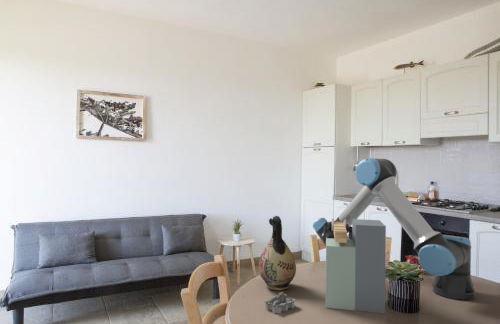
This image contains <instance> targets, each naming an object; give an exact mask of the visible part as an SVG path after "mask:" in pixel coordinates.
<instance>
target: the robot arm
mask: <svg viewBox="0 0 500 324" xmlns="http://www.w3.org/2000/svg"><path fill="white" fill-rule="evenodd" d="M397 172H398V171H397V167H396V165H395V163H393V162H392V161H391V160H390V159H386V158H374V157H368V158H363V159H362V160H361V161H359V162H358V164H357V165H356V167H355V173H354V174H355V175H354V176H355V178H356V181H357V182H358V183H359V184H361V185H362V186H363V187H362V188H361V190H360V191H358V193H357V194H356V195H355V196H354V198H353V199H352V200H351V201H350V203H349V204H348V205H347V206H346V207H345V208H344V210H343V211H342V212H341V213H340V214H339V215H338V217H337V218H336V219H335V218H331V221H328V220H327V219H326V218H325V217H320V218H318V219H316V220H315V221H314V222H313V223H312V228H313V229H314V231H315V233H316V234H317V235H318V238H320V240H321V242H322V243H323V245H324V246H325V247H326V238H331V239H335V238H334V232H333V230H334V221H343V222H344V225H345V228H346V230H347V239H349V240H352V219H359V218H360V217H361V215H362V214H363V213H364V212H365V211H366V210H367V208H368V207H369V206H370V205H371V204H372V203H373V202H374V201H375V199H376V198H377V197H379V199H380V200H381V201H382V202H383V203H384V205H385V206H386V207H387V209H388V211H390V213H391V214H392V215H393V216H394V218H395V220H397V222H398V224H400V226H401V227H402V228H403V230H404V231H405V232H406V234H407V235H408V236H409V238H410V239H411V240H412V242H413V250H414V251H415V252H416V253H417V256H418V261H419V263H420V265H421V267H422V270H424V272H426V273H428V274H430V275H432V276H435V277H434V280H433V283H432V289H431V290H432V291H433V292H434V293H435V294H436V295H438V296H441V297H444V298H447V299H452V300H458V299H463V300H462V301H465V300H464V299H471V300H474V299H476V298H475V297H476V294H477V292H476V288H475V285H474V283H473V280H472V275H471V271H472V270H471V262H472V261H471V260H472V258H471V257H472V253H471V252H472V245H471V239H470V238H467V237H464V236H463V237H462V236H458V235H457V236H455V235H449V234H442V232H440V231H435V230H434V229H433V228H432V227H431V225H429V223H428V222H427V220H426V219H425V218H424V217H423V216H422V214H421V213H420V212H419V211H418V210H417V208H416V207H415V206H414V204H412V202H411V201H410V199H409V198H408V197H407V196H406V195H405V193H404V192H403V191H402V190H401V189H400V187H399V186H398V185H397V184H396V179H397ZM473 298H474V299H473Z"/></svg>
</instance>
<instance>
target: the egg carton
mask: <svg viewBox="0 0 500 324" xmlns="http://www.w3.org/2000/svg"><path fill="white" fill-rule="evenodd" d="M295 301H296V299H295V298H292V297H288V295H287V294H286V293H284V291H281V292H278V293H277V294H276V295H275V296H273V297H271V298H269V299H267V300H265V301H263V303H264V304H265V311H272V314H279V313H280V314H282V311H283V312H284V311H285V312H287V311H288V310H289V309H294V308H295Z"/></svg>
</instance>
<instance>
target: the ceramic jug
mask: <svg viewBox="0 0 500 324" xmlns="http://www.w3.org/2000/svg"><path fill="white" fill-rule="evenodd" d="M268 222H269V223H268V224H269V225H270V226H271V227H272V233H271V237H270V239H269V241H268V242H267V244H266V245H265V247H264V249H263V251H262V253H261V255H260V257H259V263H258V271H259V274H260V275H259V276H260V277H261V279H262V280H263V281H264V282H265V284H266V286H267V288H268V289H270V290H274V291H283V290H287V289H289V288H290V284H291V283H292V281H293V280H294V278H295V276H296V273H297V266H296V261H295V260H296V259H295V257H294V255H293V253H292V250H291V249H290V248H289V246H288V245H287V243H286V242H285V240H284V239H283V226H282V220H281V217H280V216H278V215H274V216H272V218H271V217H270V218H269V219H268Z"/></svg>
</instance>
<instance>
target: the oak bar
mask: <svg viewBox="0 0 500 324" xmlns="http://www.w3.org/2000/svg"><path fill="white" fill-rule="evenodd" d="M333 232H334V238H335V242H342V243H347V236H348V233H347V230H346V228H345V225H344V222H343V221H335V220H334V230H333Z"/></svg>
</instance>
